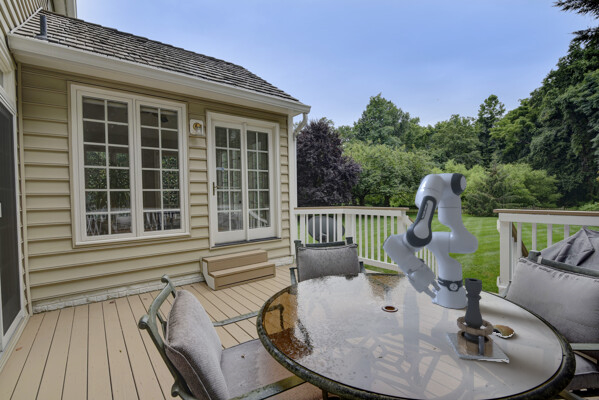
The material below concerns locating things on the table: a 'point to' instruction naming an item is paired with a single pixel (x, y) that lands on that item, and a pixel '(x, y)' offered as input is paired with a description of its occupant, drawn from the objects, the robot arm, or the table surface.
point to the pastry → (503, 330)
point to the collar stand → (472, 349)
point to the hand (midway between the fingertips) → (437, 293)
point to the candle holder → (473, 307)
